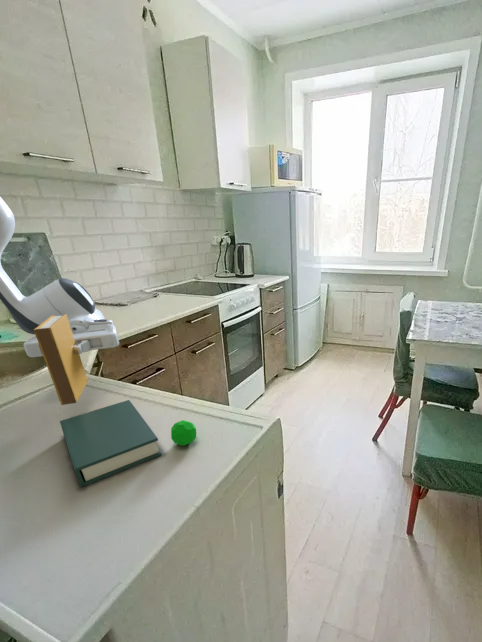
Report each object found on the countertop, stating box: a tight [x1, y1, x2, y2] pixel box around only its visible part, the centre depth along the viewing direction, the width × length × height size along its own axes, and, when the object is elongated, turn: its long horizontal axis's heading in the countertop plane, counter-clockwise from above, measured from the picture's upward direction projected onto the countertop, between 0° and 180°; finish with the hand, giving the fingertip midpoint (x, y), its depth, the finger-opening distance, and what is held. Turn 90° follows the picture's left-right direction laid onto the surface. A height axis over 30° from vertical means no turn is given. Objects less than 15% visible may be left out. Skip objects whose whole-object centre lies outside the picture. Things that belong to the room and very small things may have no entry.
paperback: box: [34, 314, 88, 406], centre depth 79 cm, size 12×3×17 cm, turn 17°
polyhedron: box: [170, 419, 197, 447], centre depth 70 cm, size 5×5×5 cm
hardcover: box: [59, 399, 162, 488], centre depth 71 cm, size 20×14×4 cm
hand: (66, 352), depth 81 cm, fingers closed on paperback, 3 cm apart
